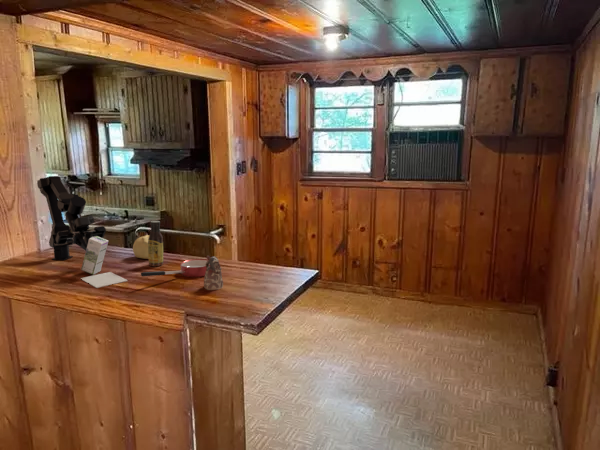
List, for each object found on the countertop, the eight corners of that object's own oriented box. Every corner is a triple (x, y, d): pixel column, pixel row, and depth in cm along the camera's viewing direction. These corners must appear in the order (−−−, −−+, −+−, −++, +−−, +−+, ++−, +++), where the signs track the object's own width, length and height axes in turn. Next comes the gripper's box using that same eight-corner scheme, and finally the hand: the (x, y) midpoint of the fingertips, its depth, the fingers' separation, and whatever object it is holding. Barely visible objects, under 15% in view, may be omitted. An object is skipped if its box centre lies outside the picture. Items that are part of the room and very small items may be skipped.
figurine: (214, 291, 159) (213, 259, 157) (200, 287, 163) (198, 257, 160) (227, 286, 165) (226, 255, 163) (213, 282, 169) (212, 253, 166)
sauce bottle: (145, 266, 191) (143, 221, 187) (155, 262, 196) (153, 219, 193) (157, 267, 188) (155, 222, 185) (167, 264, 194) (164, 220, 190)
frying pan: (159, 293, 157) (158, 276, 156) (135, 286, 164) (134, 270, 162) (219, 271, 183) (218, 257, 182) (197, 267, 190) (196, 253, 189)
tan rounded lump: (155, 260, 199) (154, 238, 197) (129, 260, 200) (128, 237, 198) (163, 254, 211) (162, 233, 209) (139, 254, 211) (137, 232, 209)
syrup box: (100, 271, 182) (109, 240, 180) (92, 275, 177) (101, 243, 174) (88, 266, 183) (96, 235, 180) (80, 270, 177) (88, 238, 174)
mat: (80, 278, 172) (80, 278, 172) (110, 272, 181) (110, 271, 181) (96, 288, 161) (96, 287, 161) (127, 281, 170) (127, 280, 170)
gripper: (55, 212, 172) (67, 243, 167) (102, 207, 186) (115, 236, 180) (50, 228, 179) (62, 259, 173) (96, 223, 192) (109, 251, 187)
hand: (88, 251), depth 178 cm, fingers closed
